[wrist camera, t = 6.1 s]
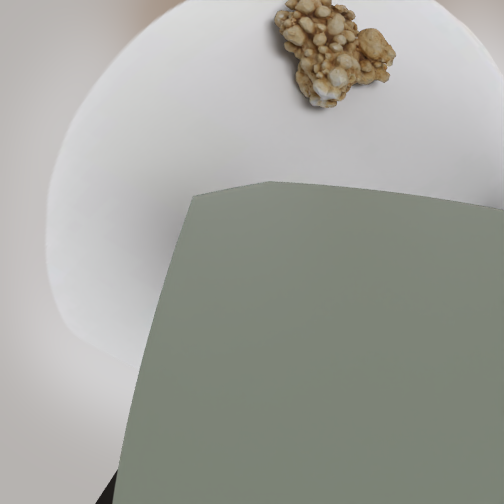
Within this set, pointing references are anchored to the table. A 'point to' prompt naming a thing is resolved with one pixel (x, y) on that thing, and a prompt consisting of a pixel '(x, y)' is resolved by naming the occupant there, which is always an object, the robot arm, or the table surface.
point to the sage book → (323, 353)
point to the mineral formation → (332, 50)
